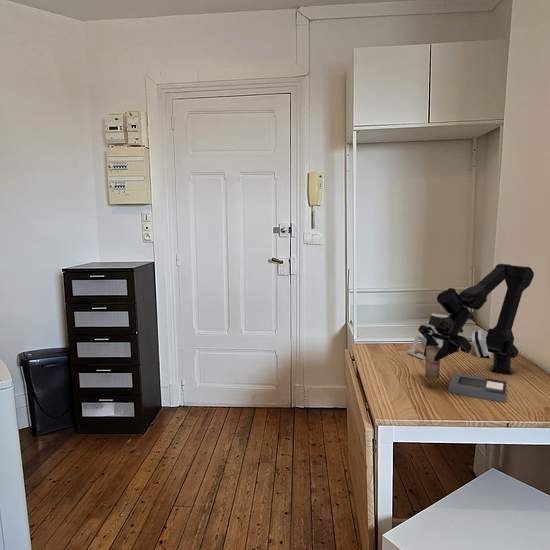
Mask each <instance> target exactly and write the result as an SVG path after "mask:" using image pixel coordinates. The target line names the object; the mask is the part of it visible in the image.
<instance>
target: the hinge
mask: <svg viewBox="0 0 550 550" xmlns="http://www.w3.org/2000/svg"><path fill="white" fill-rule="evenodd" d="M486 337H487V335H486V334H485V331H484V330H483V329H481V330H475V331H473V332H472V333H471V342H472V344H473V349H474V350H475V351H474V352H475V355H476V357H477V358H481V357H482V356H483V357H487V356H488V357H489V359H490V358H491V359H492V357H491V356H492V355H493V353H491V352H488V349H487V345H486Z"/></svg>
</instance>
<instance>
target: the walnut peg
mask: <svg viewBox="0 0 550 550" xmlns="http://www.w3.org/2000/svg"><path fill="white" fill-rule="evenodd" d="M439 350H440V347H437V346H427V347H426V359H425V369H424V370H425V371H424V372H425V375H424V376H425V378H427V379H431V380H437V379H440V373H441V372H440V371H441V369H440V366H441V359H440V360H438V361H435V360H434V358H435V356H436V355H437V353H438V352H439Z"/></svg>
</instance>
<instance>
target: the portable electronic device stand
mask: <svg viewBox="0 0 550 550" xmlns="http://www.w3.org/2000/svg"><path fill="white" fill-rule="evenodd" d="M419 341H420V344H421V346H422V350H423V353H420V352H417V353H415V351H416V348H417V346H418V343H419ZM426 341H427V339H425V338H424V336H423V335H422V334H421V333H420V332H418V333H416V334H415V337H414V341H413V343H412V346H411V349H409V348H407V351H406V352H407V354H408V355H410V356H413V357H414V358H415V357H416V358H418V359H420V360H422V361H426V357H425V356H424V355H423V354H424V350H425V346H426Z"/></svg>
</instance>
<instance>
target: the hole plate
mask: <svg viewBox="0 0 550 550" xmlns="http://www.w3.org/2000/svg"><path fill="white" fill-rule="evenodd" d="M448 392H449V394H455V395H461V396H466V397H472V398H476V399H477V398H478V399H482V400H487V401H494V402H499V403H506V396H507V395H506V393H507V380H506V381H505V380H500V379H492V378H487V377H481V376H474V375H467V374H461V373H456V372H454V373H453V374H452V377H451V379H450V382H449V384H448Z"/></svg>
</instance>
